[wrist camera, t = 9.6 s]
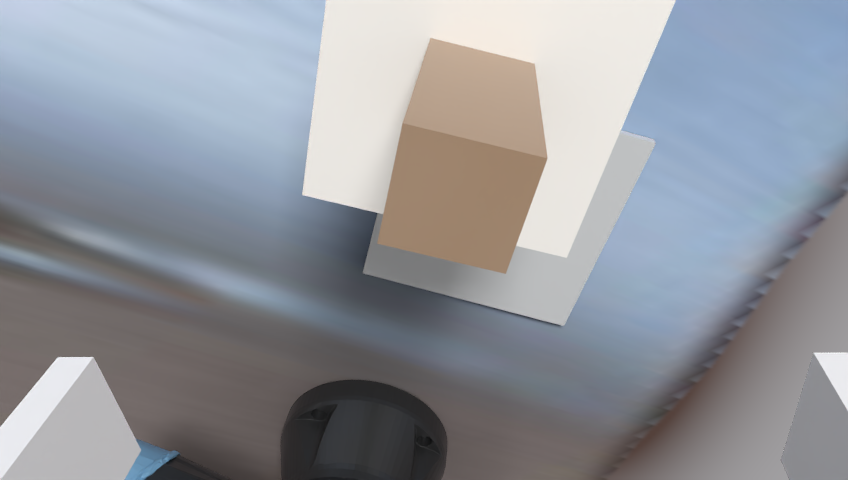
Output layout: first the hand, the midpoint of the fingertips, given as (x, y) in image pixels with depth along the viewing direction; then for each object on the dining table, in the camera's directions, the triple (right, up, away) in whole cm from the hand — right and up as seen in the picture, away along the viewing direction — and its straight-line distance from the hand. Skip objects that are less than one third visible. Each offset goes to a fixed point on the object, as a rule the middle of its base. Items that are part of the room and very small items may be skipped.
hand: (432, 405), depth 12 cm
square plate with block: (+2, +9, +14) cm, 17 cm away
